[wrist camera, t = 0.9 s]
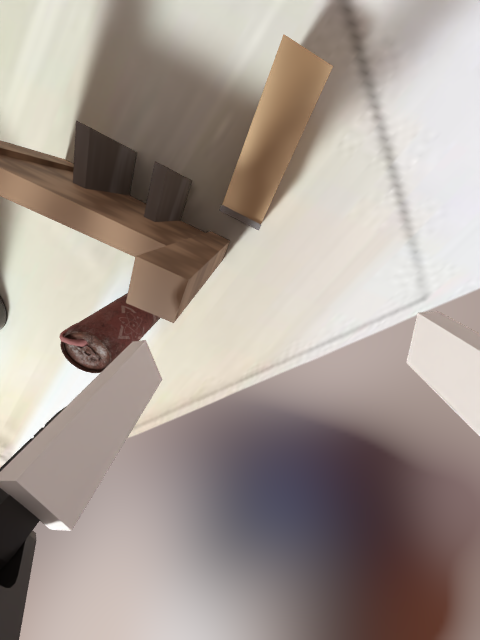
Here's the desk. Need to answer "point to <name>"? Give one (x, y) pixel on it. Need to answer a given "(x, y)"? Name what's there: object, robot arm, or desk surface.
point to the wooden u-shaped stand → (119, 215)
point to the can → (105, 335)
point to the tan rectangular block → (275, 131)
